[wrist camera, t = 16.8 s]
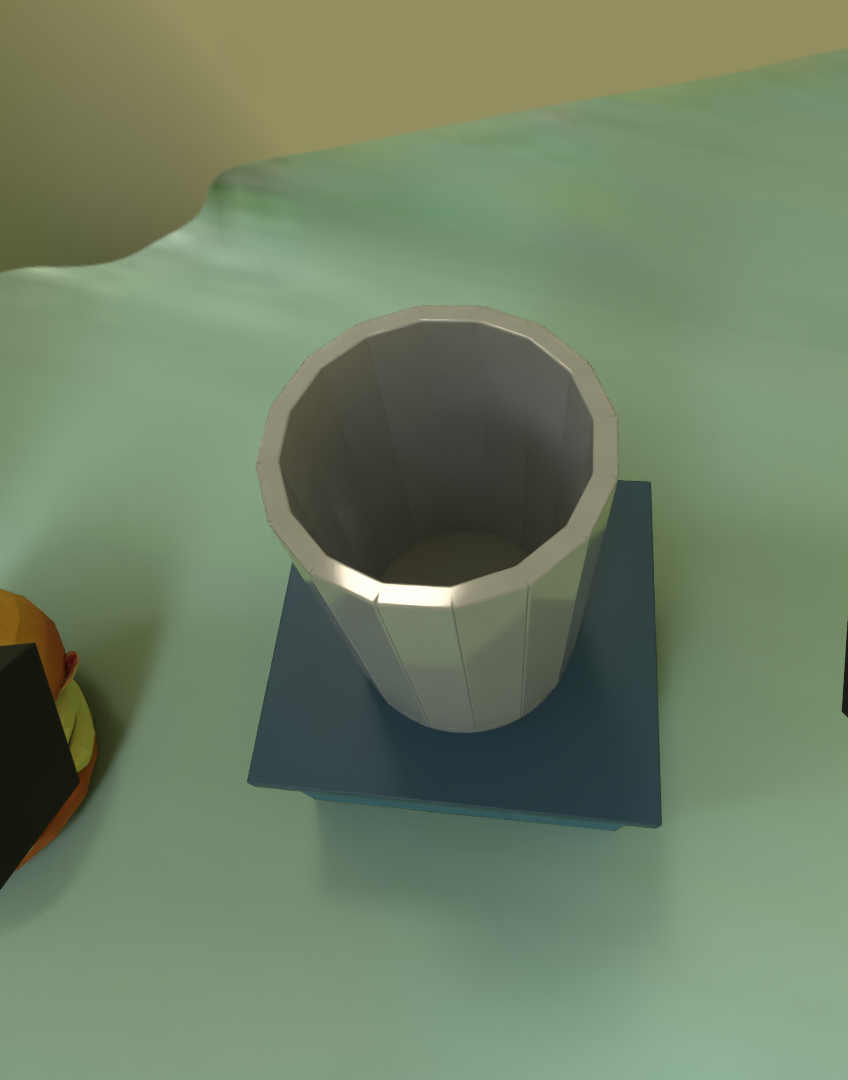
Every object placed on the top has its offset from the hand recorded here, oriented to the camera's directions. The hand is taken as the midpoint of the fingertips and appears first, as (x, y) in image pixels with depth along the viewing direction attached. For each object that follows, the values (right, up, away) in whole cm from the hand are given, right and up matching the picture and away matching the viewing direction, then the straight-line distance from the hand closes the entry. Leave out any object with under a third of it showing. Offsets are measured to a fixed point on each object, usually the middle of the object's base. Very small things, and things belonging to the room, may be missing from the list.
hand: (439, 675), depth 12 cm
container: (+2, -4, +19) cm, 20 cm away
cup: (+1, -1, +13) cm, 13 cm away
